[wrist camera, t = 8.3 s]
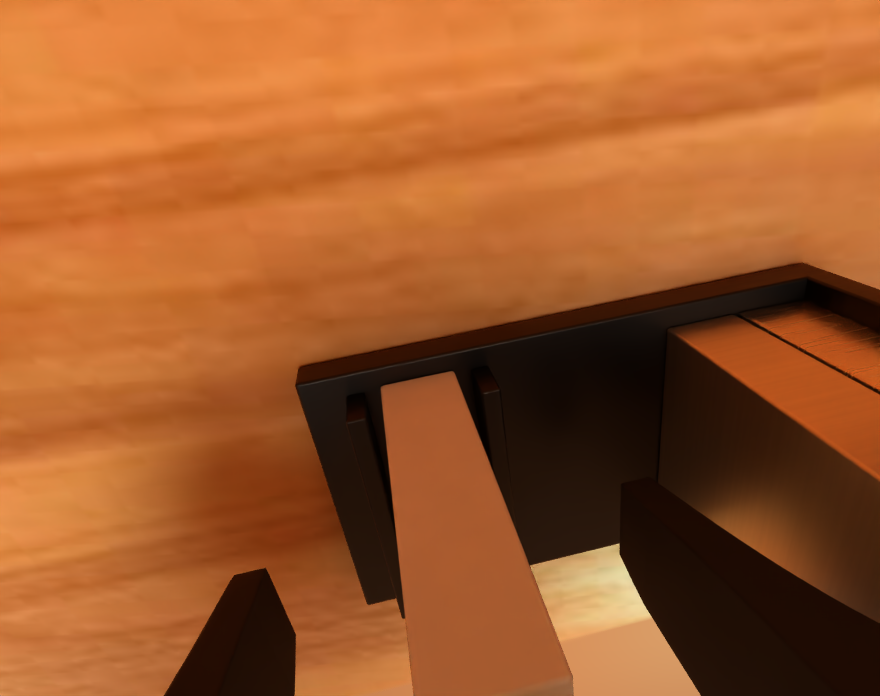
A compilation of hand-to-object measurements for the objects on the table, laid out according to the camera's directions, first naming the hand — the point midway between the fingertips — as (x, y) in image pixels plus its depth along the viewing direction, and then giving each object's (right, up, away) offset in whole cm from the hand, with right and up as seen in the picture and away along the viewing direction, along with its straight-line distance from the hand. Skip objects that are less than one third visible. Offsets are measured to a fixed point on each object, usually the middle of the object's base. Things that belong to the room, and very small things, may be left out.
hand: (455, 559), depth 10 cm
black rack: (+3, +2, +3) cm, 5 cm away
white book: (0, +1, +2) cm, 2 cm away
